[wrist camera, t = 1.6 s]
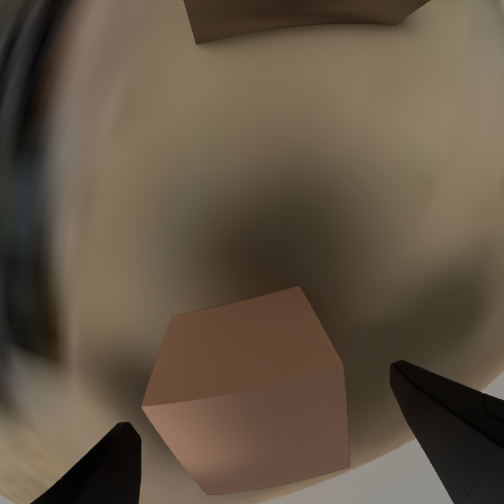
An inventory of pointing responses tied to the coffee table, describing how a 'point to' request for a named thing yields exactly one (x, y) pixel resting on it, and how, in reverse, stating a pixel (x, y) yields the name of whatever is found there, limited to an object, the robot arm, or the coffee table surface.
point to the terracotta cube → (250, 394)
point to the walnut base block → (288, 14)
